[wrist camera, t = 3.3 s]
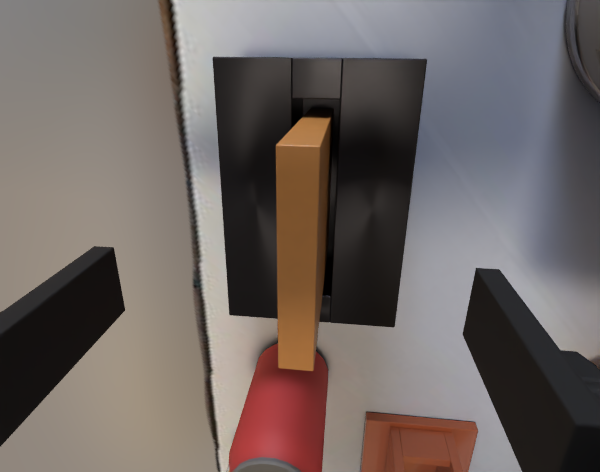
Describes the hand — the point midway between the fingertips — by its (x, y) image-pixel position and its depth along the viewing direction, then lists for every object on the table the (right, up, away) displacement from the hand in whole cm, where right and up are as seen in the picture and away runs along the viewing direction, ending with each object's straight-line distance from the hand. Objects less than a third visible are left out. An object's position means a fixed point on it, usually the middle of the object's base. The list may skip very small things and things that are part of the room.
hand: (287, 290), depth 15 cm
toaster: (+2, +6, +15) cm, 17 cm away
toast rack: (+12, -22, +26) cm, 36 cm away
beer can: (0, -10, +23) cm, 25 cm away
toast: (+2, +6, +14) cm, 16 cm away
